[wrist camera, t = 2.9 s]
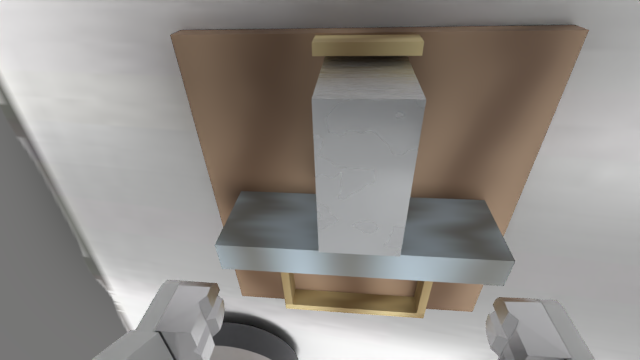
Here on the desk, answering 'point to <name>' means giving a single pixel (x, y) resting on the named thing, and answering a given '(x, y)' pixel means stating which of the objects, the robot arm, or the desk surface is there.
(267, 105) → the board
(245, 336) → the planter
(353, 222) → the bar
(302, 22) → the desk surface
